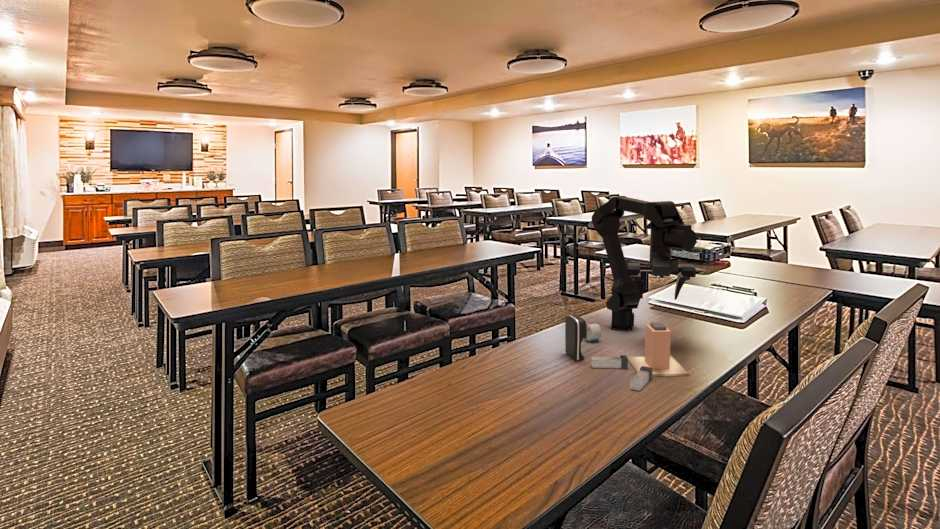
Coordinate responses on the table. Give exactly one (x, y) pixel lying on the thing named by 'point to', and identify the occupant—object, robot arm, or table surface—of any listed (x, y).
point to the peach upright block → (657, 346)
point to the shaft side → (610, 362)
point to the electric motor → (593, 332)
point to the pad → (673, 370)
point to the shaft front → (641, 378)
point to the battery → (574, 336)
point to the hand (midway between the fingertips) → (658, 298)
